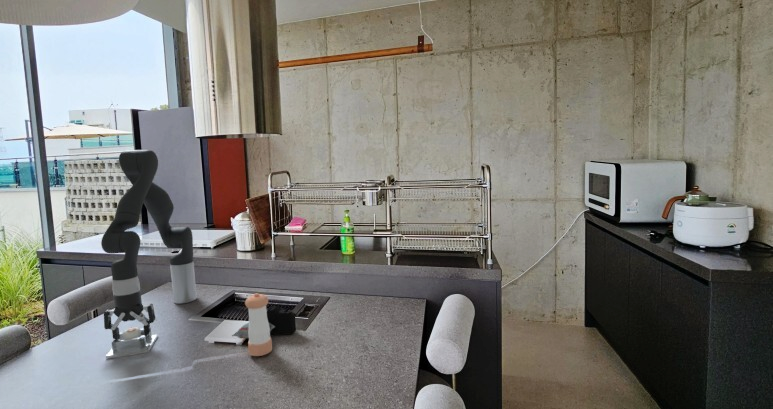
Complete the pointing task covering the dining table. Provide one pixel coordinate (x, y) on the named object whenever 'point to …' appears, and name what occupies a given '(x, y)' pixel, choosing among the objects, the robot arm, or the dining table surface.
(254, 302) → the salt shaker
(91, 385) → the dining table surface
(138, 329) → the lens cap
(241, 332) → the packaged food
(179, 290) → the robot arm
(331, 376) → the dining table surface
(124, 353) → the gray napkin holder
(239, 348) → the dining table surface
